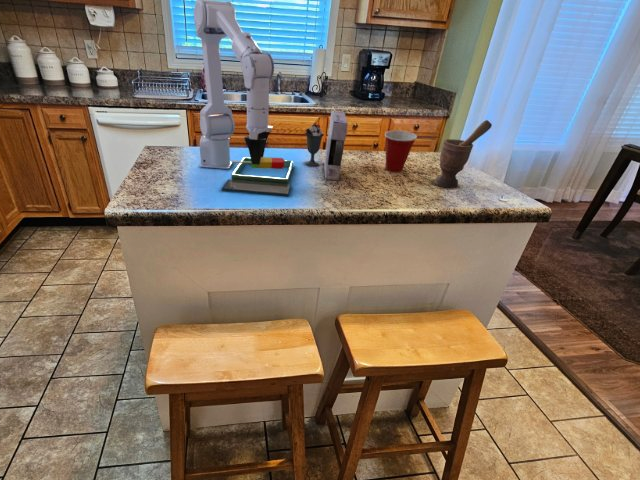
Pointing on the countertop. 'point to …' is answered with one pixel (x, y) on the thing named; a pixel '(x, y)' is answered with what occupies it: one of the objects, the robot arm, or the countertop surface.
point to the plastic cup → (398, 149)
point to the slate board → (256, 187)
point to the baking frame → (260, 178)
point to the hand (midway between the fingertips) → (257, 160)
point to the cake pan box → (335, 145)
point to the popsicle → (266, 163)
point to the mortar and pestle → (457, 156)
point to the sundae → (313, 142)
